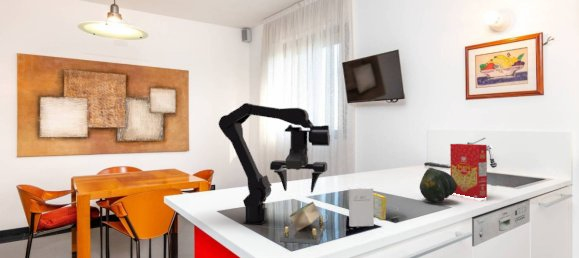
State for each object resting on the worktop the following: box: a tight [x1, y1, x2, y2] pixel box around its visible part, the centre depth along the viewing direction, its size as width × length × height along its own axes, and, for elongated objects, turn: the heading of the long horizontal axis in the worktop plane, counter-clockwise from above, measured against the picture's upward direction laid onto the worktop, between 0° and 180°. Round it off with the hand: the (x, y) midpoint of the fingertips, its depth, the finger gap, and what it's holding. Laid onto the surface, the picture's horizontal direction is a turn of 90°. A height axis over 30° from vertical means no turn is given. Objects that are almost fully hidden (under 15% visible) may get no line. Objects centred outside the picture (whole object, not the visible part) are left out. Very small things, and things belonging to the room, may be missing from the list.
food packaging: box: [449, 143, 488, 198], centre depth 153 cm, size 15×5×25 cm, turn 23°
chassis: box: [279, 215, 327, 245], centre depth 101 cm, size 11×18×4 cm, turn 167°
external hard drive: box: [348, 187, 375, 228], centre depth 109 cm, size 2×8×12 cm, turn 96°
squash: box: [419, 167, 457, 203], centre depth 143 cm, size 14×15×15 cm
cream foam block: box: [289, 201, 321, 231], centre depth 105 cm, size 5×11×5 cm, turn 159°
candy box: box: [373, 192, 387, 221], centre depth 124 cm, size 16×2×8 cm, turn 14°
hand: (298, 191), depth 110 cm, fingers open, 9 cm apart
